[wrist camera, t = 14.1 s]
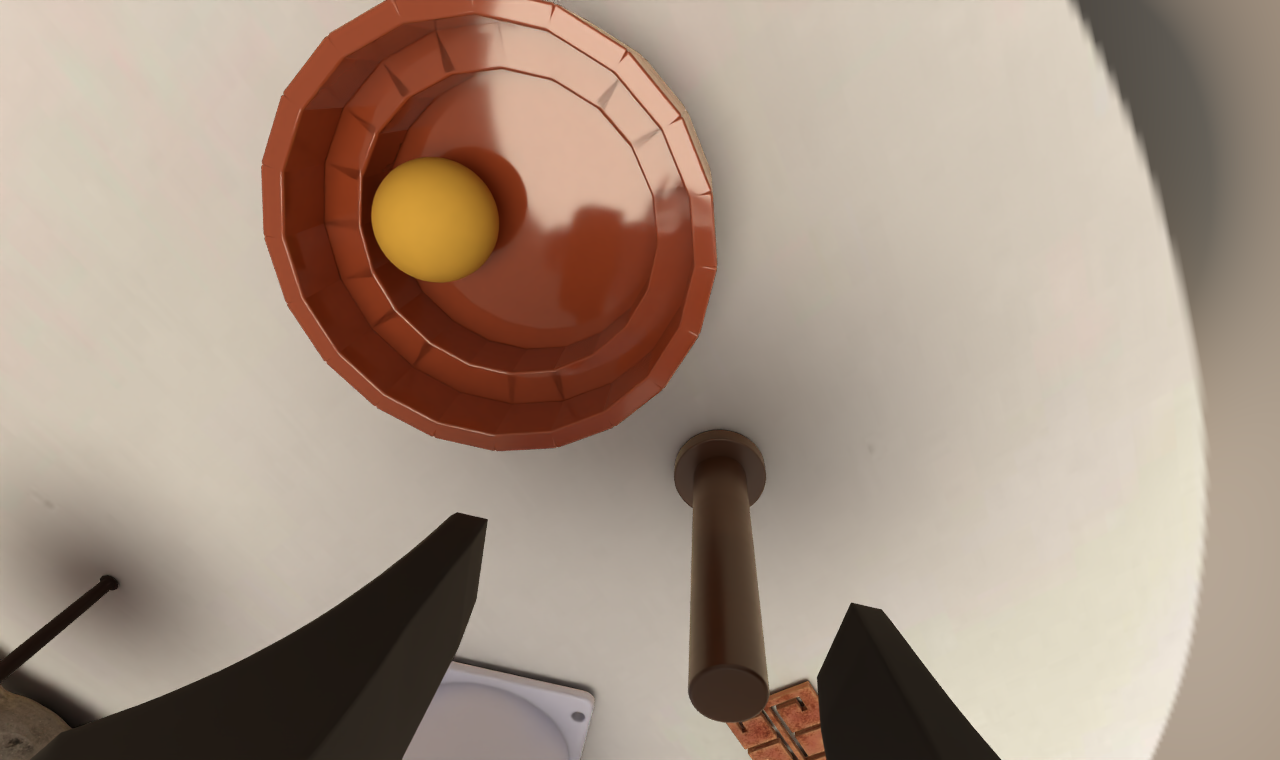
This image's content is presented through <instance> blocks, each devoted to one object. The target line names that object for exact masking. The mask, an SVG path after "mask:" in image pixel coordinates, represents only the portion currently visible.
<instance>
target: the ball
mask: <svg viewBox="0 0 1280 760" xmlns="http://www.w3.org/2000/svg"><path fill="white" fill-rule="evenodd" d="M371 219H372V227H373V231H374V235H375V238H376V240H377V242H378V244H379V246H380V248H381V250H382V251H383V253H384V254H385V256H386V257H387V258H388V259H389V260H390V261H391V262H392V263H393V264H394V265H395V266H396V267H397V268H399V269H400V270H401V271H403V272H404V273H406V274H408V275H410V276H412V277H415V278H417V279H420V280H423V281H428V282H439V283H443V282H451V281H455V280H459V279H462V278H464V277H466V276H468V275H470V274H472V273H474V272H475V271H476V270H478V269H479V268H480V267H481V266H482V265H483V264H484V263H485V262H486V261H487V259H488V258H489V256H490V255H491V253H492V251H493V249H494V247H495V245H496V242H497V238H498V232H499V214H498V210H497V206H496V203H495V200H494V198H493V196H492V194H491V192H490V190H489V189H488V187H487V186H486V184H485V183H484V182H483V181H482V180H481V179H480V178H479V177H478V176H477V175H476V174H475V173H474V172H473V171H471V170H470V169H468V168H467V167H465V166H464V165H462V164H460V163H457V162H455V161H452V160H449V159H445V158H439V157H423V158H417V159H413V160H410V161H407V162H405V163H403V164H401V165H399V166H398V167H396V168H395V169H394V170H392V171H391V172H390V173H389V174H388V175H387V176H386V177H385V178H384V180H383V181H382V182H381V184H380V185H379V187H378V189H377V191H376V194H375V196H374V200H373V205H372V212H371Z"/></svg>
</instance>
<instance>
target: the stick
mask: <svg viewBox="0 0 1280 760" xmlns="http://www.w3.org/2000/svg"><path fill="white" fill-rule="evenodd" d="M674 481H675V486H676V489H677V491H678V493H679V495H680V496H681V498H682V499H683V500H684V501H685V502H686V503H687V504H688V505H689V506H691V507H692V508H693V522H692V561H691V601H690V640H689V679H688V694H689V698H690V700H691V702H692V704H693V706H694V707H695V708H696V709H697V711H699V712H700V713H701V714H702V715H704V716H706V717H708V718H710V719H712V720H715V721H719V722H726V723H736V722H742V721H746V720H749V719H751V718H753V717H755V716H757V715H758V714H759V713H760V712H761V711H763V709H764V708H765V706H766V704H767V702H768V699H769V684H768V674H767V665H766V656H765V647H764V637H763V628H762V619H761V609H760V600H759V591H758V582H757V572H756V563H755V554H754V545H753V535H752V526H751V517H750V506H752V505H753V504H754V503H755V502H756V501H757V500H758V498H759V497H760V495H761V494H762V492H763V490H764V487H765V483H766V471H765V464H764V460H763V457H762V454H761V452H760V451H759V449H758V448H757V446H756V445H755V444H754V443H753V442H752V441H750V440H749V439H748V438H746V437H744V436H743V435H741V434H738V433H736V432H732V431H727V430H712V431H707V432H703V433H701V434H698V435H696V436H695V437H693V438H691V439H690V440H689V441H688V442H686V443H685V444H684V446H683V447H682V448H681V449H680V451H679V453H678V455H677V458H676V462H675V471H674Z"/></svg>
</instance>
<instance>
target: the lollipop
mask: <svg viewBox="0 0 1280 760" xmlns="http://www.w3.org/2000/svg"><path fill="white" fill-rule="evenodd" d="M117 588H118V583H117V582H116V580H115V579H114V578H112V577H111V576H102V577H101V578H100V582H99V583H98V584H97V585H95V586H94V587H93V588H92V589H90V590H89V591H88V592H86V593H85V594H84V595H83V596H81V597H80V598H79V599H78V600H76V601H75V602H74V603H73V604H71V605H70V606H69V607H68V608H66V609H65V610H64V611H63V612H61V613H60V614H59V615H58V616H56V617H55V618H54V619H53V620H51V621H50V622H49V623H48V624H46V625H45V626H44V627H43V628H41V629H40V630H39V631H37V632H36V633H35V634H34V635H32V636H31V637H30V638H29V639H27V640H26V641H25V642H24V643H23V644H21V645H20V646H19V647H18V648H16V649H15V650H14V651H13V652H11V653H10V654H9V655H8V656H6V657H5V658H4V659H3V660H1V661H0V683H1V682H2V681H3V680H5V679H6V678H7V677H8V676H9V675H10V674H12V673H13V672H14V671H15V670H16V669H18V668H19V667H20V666H21V665H22V664H24V663H25V662H26V661H27V660H28V659H29V658H31V657H32V656H33V655H34V654H35V653H37V652H38V651H39V650H40V649H41V648H42V647H44V646H45V645H46V644H47V643H48V642H50V641H51V640H52V639H53V638H54V637H55V636H57V635H58V634H59V633H60V632H61V631H63V630H64V629H65V628H66V627H67V626H68V625H70V624H71V623H72V622H73V621H74V620H76V619H77V618H78V617H79V616H80V615H81V614H83V613H84V612H85V611H86V610H87V609H89V608H90V607H91V606H92V605H93V604H94V603H95V602H97V601H98V600H99V599H100V598H101V597H102V596H104V595H105V594H106V593H107V592H108V591H109V590H115V589H117Z"/></svg>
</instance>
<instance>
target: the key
mask: <svg viewBox="0 0 1280 760" xmlns="http://www.w3.org/2000/svg"><path fill="white" fill-rule="evenodd" d="M798 696H799V697H800V698H801V700H802V701H803V703H804V704H805V706H803V707H802V706H801V705H800V704H799V702H798V701H797V699H796V697H798ZM793 698H794V699H793ZM790 699H791V700H790ZM788 700H789V701H788ZM785 701H786V702H785ZM782 702H783V703H782ZM780 703H781V704H780ZM777 704H778V705H777ZM774 705H776V708H777V711H778V713H779V714H780V716H781V717H782V719H783V720H784V722H785V723H786V724H787V726H788V727H789V729H790V730H791V732H792V733H793V732H795V737H796V739H797V740H798V742H799V743H800V745H801V746H802V748H803V749H804V751H805V752H806V753H807V755H808V757H805V756H804V755H803V753H802V752H801V750H800V749H799V747H798V746H797V745H796V743H795V742H794V740H793V739H792V737H791V736H790V734H789V733H788V732H787V730H786V729H785V727H784V726H783V724H782V723H781V721H780V720H779V719H778V717H777V716H776V714H775V713H774V711H773V710H772V708H771V706H774ZM764 710H765V712H766V713H767V715H768V716H769V718H770V719H771V720H772V722H773V723H774V725H775V726H776V728H777V729H778V730H779V732H780V733H781V735H782V736H783V738H784V739H785V741H786V742H787V743H788V745H789V746H790V748H791V749H792V751H793V752H794V753H795V755H796V756H797V758H798V760H826V755H825V750H824V745H823V739H822V734H821V726H820V714H819V701H818V695H817V694H816V692H815V691H814V689H813V688H812V686H811V684H810V683H809V681H807V682H804V683H801V684H799V685H796V686H793V687H791V688H788V689H785V690H783V691H780V692H777V693H775V694H772V695H769V699H768V702H767V704H766V706H765V708H764ZM818 723H819V724H818ZM726 724H727V725H728V726H729V728H730V729H731V731H732V732H733V733H734V735H735V736H736V738H737V739H738V740H739V742H740V743H741V745H742V746H743V747H744V749H748V754H749V756H750V757H751V758H752V760H793V756H792V755H791V753H790V752H789V750H788V749H787V747H786V746H785V744H784V743H783V742H782V740H781V739H780V737H779V738H777V733H776V732H775V730H774V729H773V727H772V726H771V724H770V723H769V722H768V720H767V719H766V717H765V716H764V714H763V713H762V711H761V712H760V713H759V714H758V715H757V716H755V717H753V718H751V719H749V720H746V721H742V724H743V725H744V726H745V728H742V727H741V725H740V724H739V723H738V722H736V723H726ZM822 751H823V752H822ZM819 752H820V753H819ZM816 753H817V754H816Z"/></svg>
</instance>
